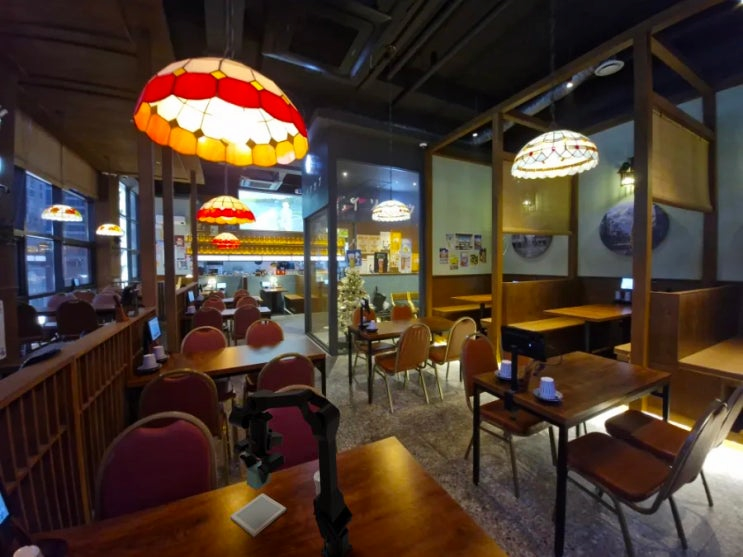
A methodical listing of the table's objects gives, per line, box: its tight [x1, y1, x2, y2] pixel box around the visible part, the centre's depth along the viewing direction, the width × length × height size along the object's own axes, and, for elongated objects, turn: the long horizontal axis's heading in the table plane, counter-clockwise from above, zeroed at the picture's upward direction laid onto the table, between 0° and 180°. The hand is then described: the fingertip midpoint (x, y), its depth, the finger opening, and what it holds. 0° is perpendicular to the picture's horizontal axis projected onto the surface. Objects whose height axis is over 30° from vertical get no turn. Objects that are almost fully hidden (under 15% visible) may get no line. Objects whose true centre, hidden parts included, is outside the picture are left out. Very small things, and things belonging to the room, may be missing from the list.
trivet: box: [229, 492, 287, 537], centre depth 100 cm, size 12×12×1 cm
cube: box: [246, 460, 271, 491], centre depth 100 cm, size 5×5×5 cm
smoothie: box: [313, 470, 320, 496], centre depth 105 cm, size 6×6×14 cm
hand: (258, 479), depth 100 cm, fingers closed on cube, 5 cm apart
